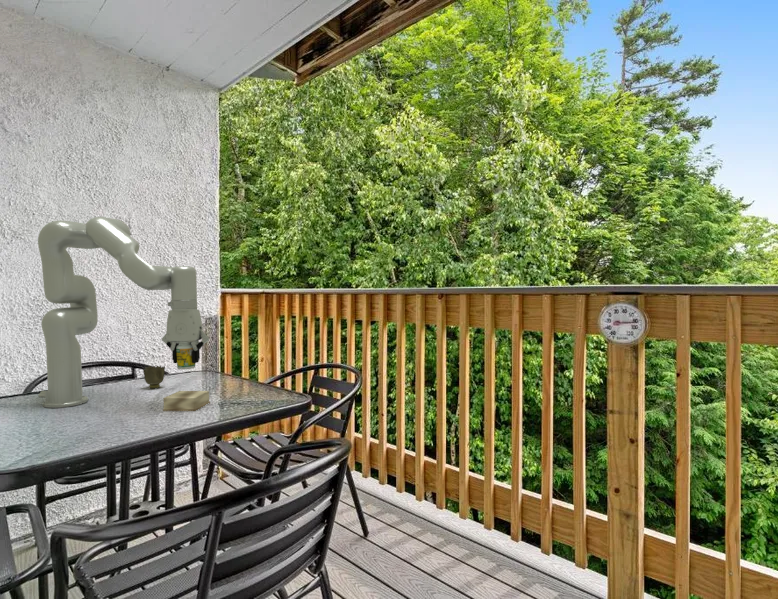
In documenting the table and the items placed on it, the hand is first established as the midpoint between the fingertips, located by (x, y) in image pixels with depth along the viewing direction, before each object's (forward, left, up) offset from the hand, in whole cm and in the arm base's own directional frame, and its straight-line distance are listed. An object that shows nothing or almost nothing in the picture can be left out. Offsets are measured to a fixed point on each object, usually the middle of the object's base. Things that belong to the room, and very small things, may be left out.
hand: (186, 362), depth 158 cm
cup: (-26, +27, -15) cm, 40 cm away
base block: (0, 0, -14) cm, 14 cm away
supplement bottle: (0, 0, -2) cm, 2 cm away
